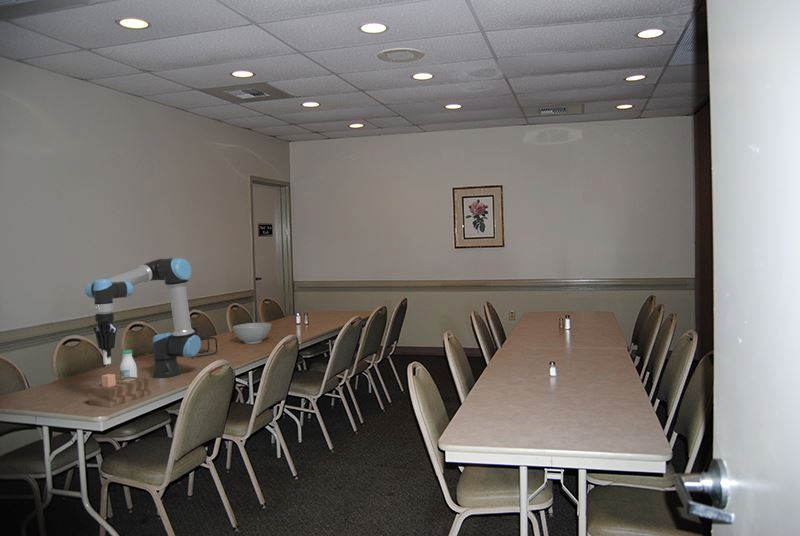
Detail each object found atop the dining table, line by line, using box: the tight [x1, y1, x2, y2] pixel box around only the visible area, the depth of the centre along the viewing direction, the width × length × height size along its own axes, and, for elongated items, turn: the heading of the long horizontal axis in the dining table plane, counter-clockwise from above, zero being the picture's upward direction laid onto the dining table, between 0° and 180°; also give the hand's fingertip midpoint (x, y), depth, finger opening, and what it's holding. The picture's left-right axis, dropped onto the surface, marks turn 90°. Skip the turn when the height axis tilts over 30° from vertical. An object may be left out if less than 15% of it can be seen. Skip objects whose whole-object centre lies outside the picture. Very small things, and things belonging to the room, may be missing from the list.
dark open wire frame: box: [190, 323, 219, 359], centre depth 382 cm, size 13×17×22 cm
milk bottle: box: [119, 349, 138, 379], centre depth 297 cm, size 8×8×20 cm
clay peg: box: [101, 373, 117, 387], centre depth 273 cm, size 4×4×8 cm
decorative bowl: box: [232, 322, 272, 345], centre depth 424 cm, size 27×27×12 cm
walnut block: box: [87, 376, 151, 409], centre depth 279 cm, size 22×14×8 cm, turn 155°
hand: (107, 363), depth 273 cm, fingers closed
